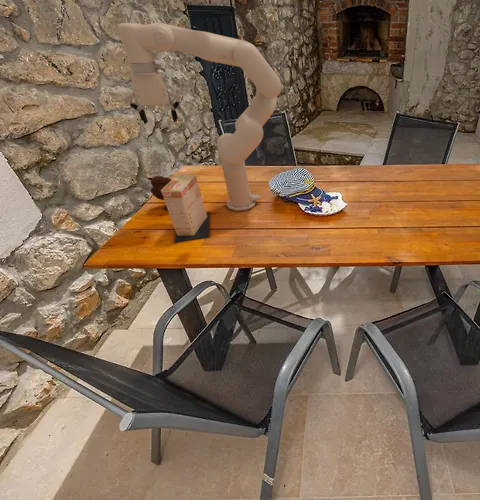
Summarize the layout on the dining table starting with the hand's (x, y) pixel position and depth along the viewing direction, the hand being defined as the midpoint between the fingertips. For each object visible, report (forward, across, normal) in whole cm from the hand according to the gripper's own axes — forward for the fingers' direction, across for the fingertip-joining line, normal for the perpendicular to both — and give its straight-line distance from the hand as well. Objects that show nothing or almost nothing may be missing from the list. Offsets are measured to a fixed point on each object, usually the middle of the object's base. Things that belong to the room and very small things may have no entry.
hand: (160, 121), depth 116 cm
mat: (+38, -2, +12) cm, 40 cm away
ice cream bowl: (+38, +8, -8) cm, 40 cm away
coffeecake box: (+38, -2, +12) cm, 40 cm away
